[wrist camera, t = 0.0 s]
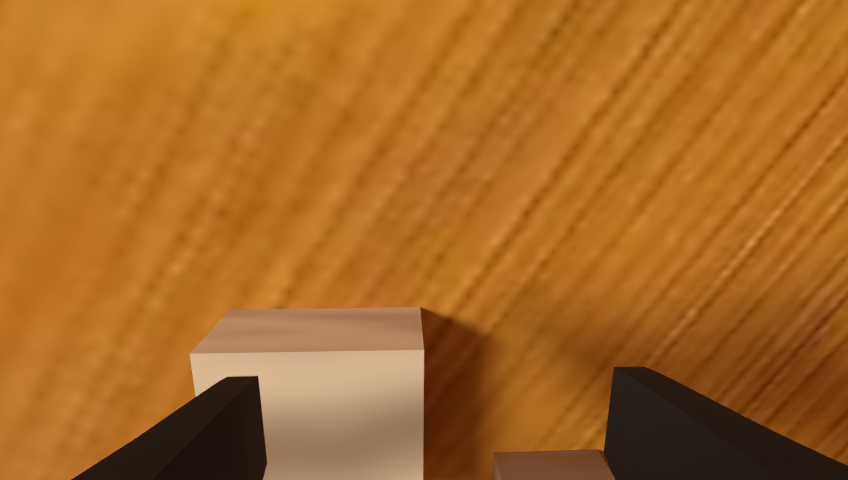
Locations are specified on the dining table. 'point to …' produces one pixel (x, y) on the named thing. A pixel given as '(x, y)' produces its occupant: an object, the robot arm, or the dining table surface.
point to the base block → (327, 387)
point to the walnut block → (551, 465)
